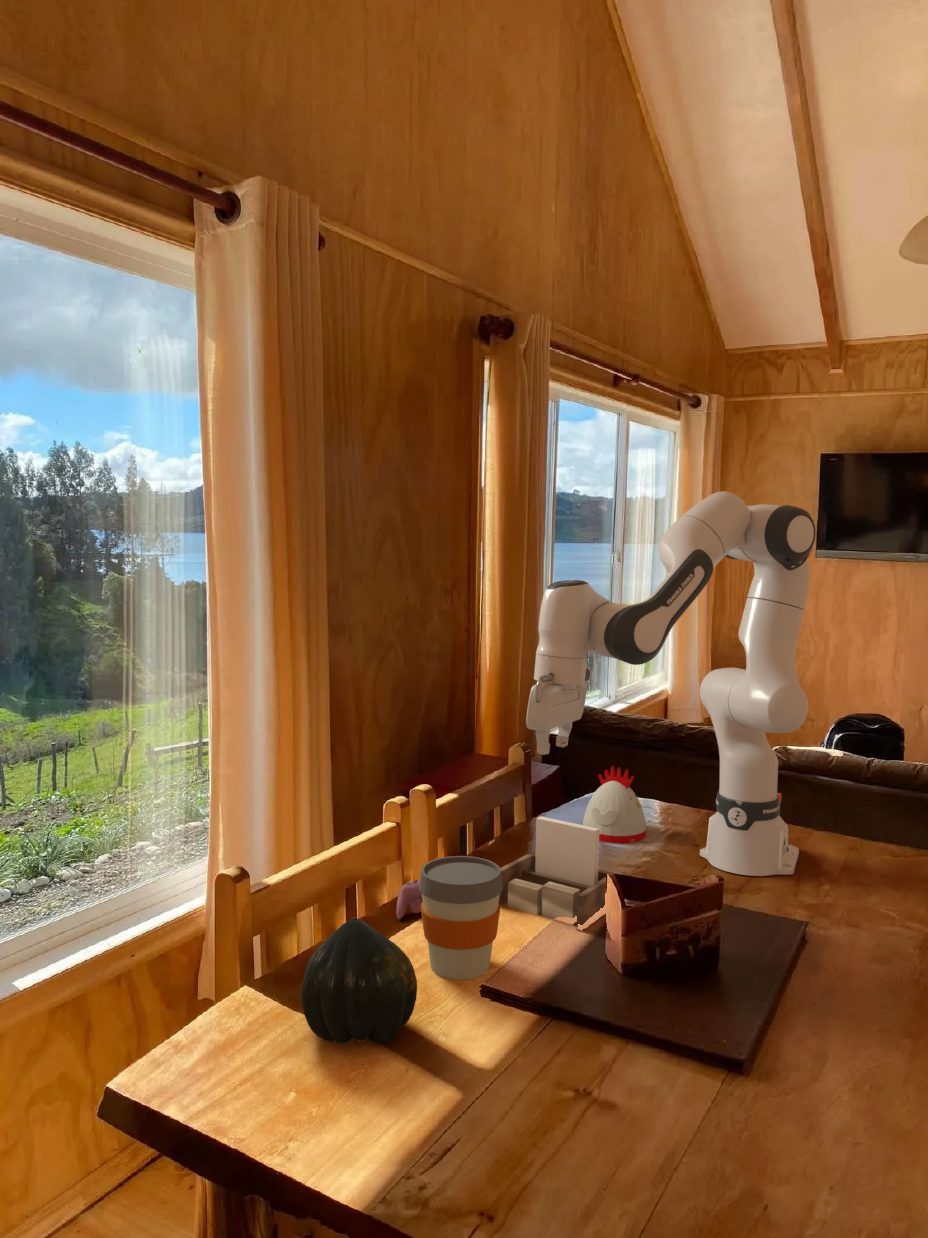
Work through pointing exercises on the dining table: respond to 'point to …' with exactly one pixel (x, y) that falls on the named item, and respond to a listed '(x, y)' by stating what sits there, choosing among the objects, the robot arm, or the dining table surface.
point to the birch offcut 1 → (525, 896)
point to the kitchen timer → (616, 810)
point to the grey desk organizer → (586, 900)
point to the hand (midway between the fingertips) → (552, 750)
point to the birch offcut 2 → (559, 901)
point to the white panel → (567, 851)
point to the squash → (358, 986)
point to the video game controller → (409, 898)
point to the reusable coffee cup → (460, 914)
